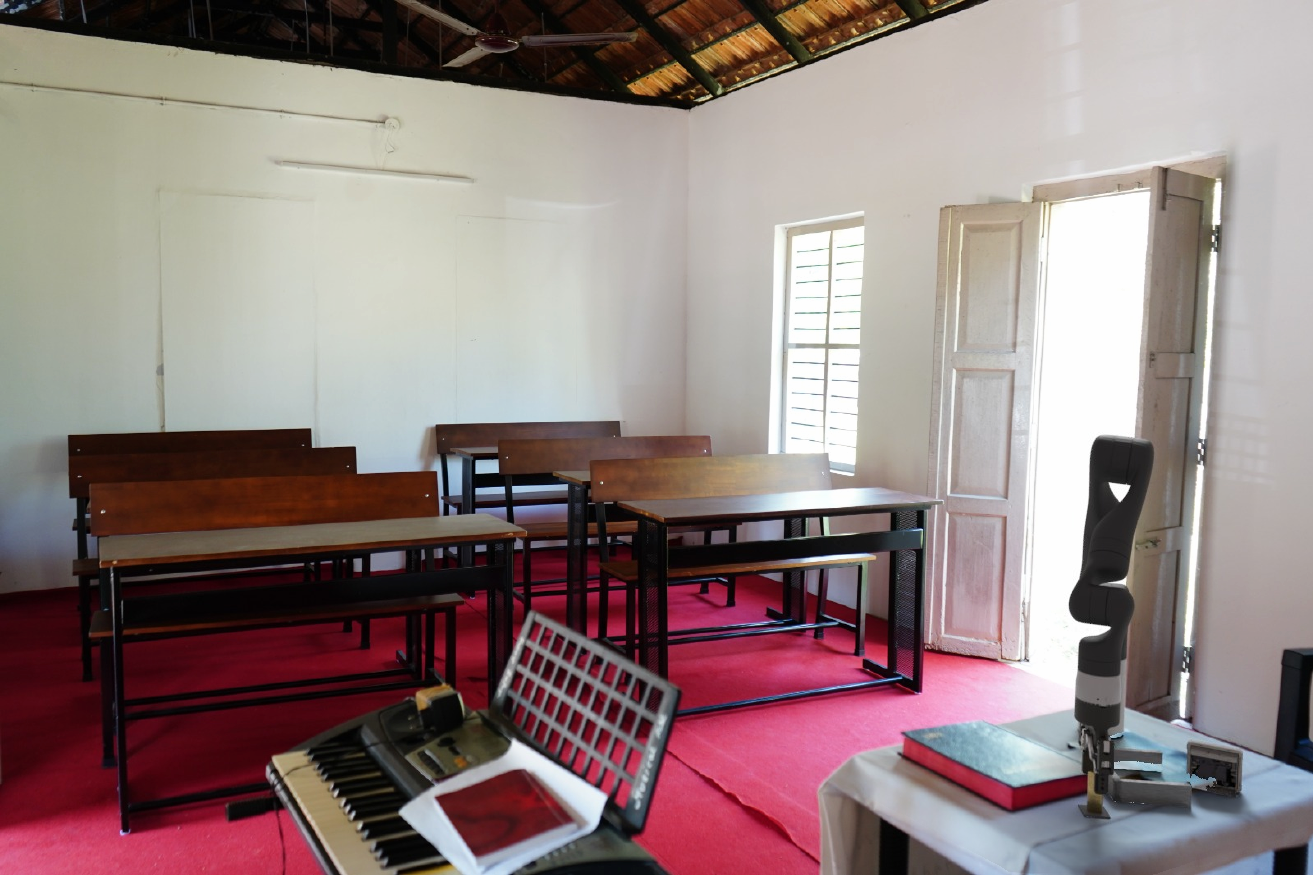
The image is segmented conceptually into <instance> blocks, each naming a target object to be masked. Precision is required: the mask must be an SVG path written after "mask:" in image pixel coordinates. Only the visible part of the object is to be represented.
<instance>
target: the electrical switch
mask: <svg viewBox="0 0 1313 875" xmlns="http://www.w3.org/2000/svg"><path fill="white" fill-rule="evenodd" d="M1243 757H1244V751H1243V750H1242V749H1240V748H1238V747H1232V746H1225V745H1221V744H1215V743H1209V742H1203V741H1199V740H1193V739H1189V740H1187V743H1186V771H1185V772H1186V773H1185V775H1186V774H1188V773H1189V774H1190V778H1191V776H1192V774H1195V775H1196V776H1198V777H1199V778H1201V779H1202V778H1203V779H1206V780H1208V778H1209V777H1212V778H1215V779H1216V781H1213V783H1214V784H1213V786H1215V788H1213V787H1210V786H1209V787H1208V786H1207V788H1208V789H1207V788H1206V789H1207V793H1211V792H1213V793H1212V794H1217V795H1220V796H1221V795H1222V796H1226V797H1232V798H1236V795H1237V793H1238V792H1239V793H1240V792H1242V791H1243V790H1242V789H1243V788H1242V786H1243V785H1242V783H1243V782H1242V781H1243V762H1244V761H1243V760H1244V759H1243ZM1216 782H1217V784H1216Z"/></svg>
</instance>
